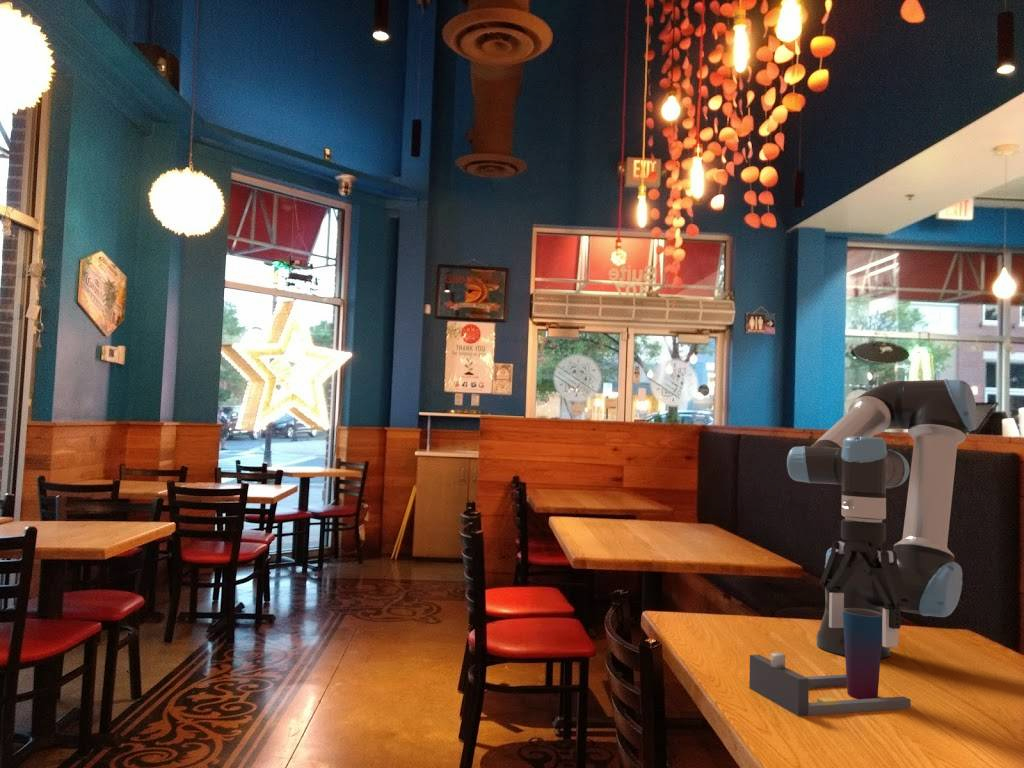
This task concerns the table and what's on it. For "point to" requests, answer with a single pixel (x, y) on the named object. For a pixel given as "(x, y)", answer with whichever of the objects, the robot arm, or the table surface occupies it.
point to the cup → (862, 651)
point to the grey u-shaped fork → (794, 690)
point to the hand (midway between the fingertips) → (861, 636)
